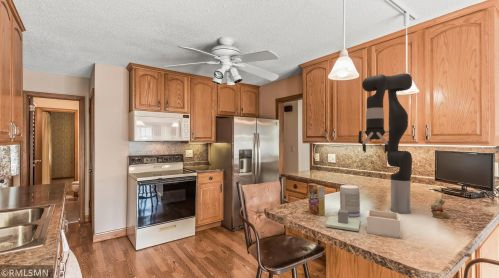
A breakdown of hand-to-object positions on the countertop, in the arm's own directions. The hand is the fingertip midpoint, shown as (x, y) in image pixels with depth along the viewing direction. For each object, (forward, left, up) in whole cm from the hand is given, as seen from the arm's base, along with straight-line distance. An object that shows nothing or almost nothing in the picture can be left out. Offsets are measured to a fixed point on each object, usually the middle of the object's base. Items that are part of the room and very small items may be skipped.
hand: (375, 152), depth 116 cm
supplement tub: (-9, -12, -33) cm, 37 cm away
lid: (+10, -13, -33) cm, 36 cm away
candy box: (-3, -28, -33) cm, 44 cm away
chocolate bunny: (-25, +29, -33) cm, 51 cm away
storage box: (+10, +3, -33) cm, 35 cm away
